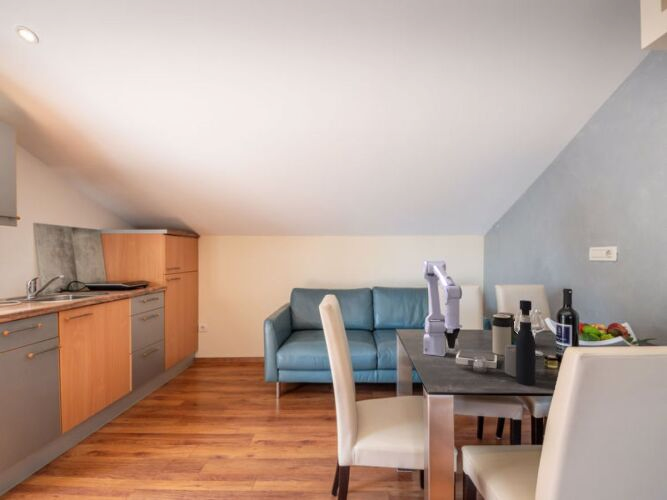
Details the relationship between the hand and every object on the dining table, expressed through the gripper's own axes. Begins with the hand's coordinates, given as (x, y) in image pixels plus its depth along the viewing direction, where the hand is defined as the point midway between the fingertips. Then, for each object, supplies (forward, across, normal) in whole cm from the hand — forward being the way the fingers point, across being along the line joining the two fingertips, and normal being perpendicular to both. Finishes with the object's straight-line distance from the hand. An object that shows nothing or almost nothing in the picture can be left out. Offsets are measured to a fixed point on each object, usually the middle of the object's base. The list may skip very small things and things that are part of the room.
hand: (452, 346), depth 151 cm
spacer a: (+2, 0, 0) cm, 2 cm away
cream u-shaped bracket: (+8, +12, -9) cm, 17 cm away
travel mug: (+8, +32, -19) cm, 38 cm away
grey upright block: (+8, +4, -25) cm, 27 cm away
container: (+9, +52, -21) cm, 56 cm away
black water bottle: (+8, -8, -27) cm, 29 cm away
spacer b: (+8, 0, -11) cm, 14 cm away
